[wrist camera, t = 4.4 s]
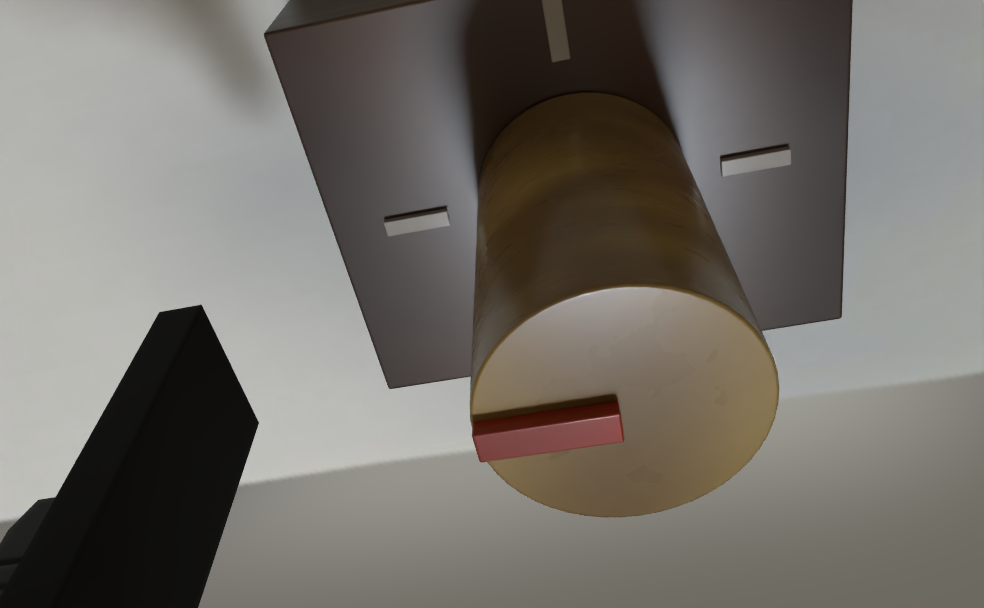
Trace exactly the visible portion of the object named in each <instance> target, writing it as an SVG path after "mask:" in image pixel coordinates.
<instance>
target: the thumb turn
mask: <svg viewBox="0 0 984 608" xmlns="http://www.w3.org/2000/svg"><path fill="white" fill-rule="evenodd" d="M778 399H779V381H778V372H777V369H776V365H775V362H774V358H773V356H772V353H771V351H770V349H769V347H768V344H767V342H766V340H765V338H764V335H763V333H762V331H761V329H760V326H759V324H758V322H757V319H756V317H755V315H754V313H753V310H752V308H751V306H750V304H749V301H748V299H747V297H746V295H745V292H744V290H743V288H742V286H741V283H740V281H739V279H738V276H737V274H736V272H735V270H734V267H733V265H732V263H731V261H730V258H729V256H728V254H727V252H726V249H725V247H724V245H723V243H722V240H721V238H720V236H719V233H718V231H717V229H716V227H715V224H714V222H713V220H712V218H711V215H710V213H709V211H708V209H707V206H706V204H705V202H704V200H703V197H702V195H701V193H700V190H699V188H698V186H697V184H696V181H695V179H694V177H693V175H692V172H691V170H690V168H689V166H688V163H687V161H686V159H685V157H684V154H683V152H682V150H681V148H680V146H679V144H678V142H677V140H676V138H675V137H674V135H673V134H672V132H671V131H670V129H669V128H668V127H667V126H666V125H665V124H664V123H663V122H662V121H661V119H660V118H658V117H657V116H656V115H654V114H653V113H652V112H651V111H649V110H648V109H646V108H644V107H643V106H641V105H639V104H637V103H635V102H633V101H630V100H628V99H625V98H622V97H618V96H614V95H611V94H603V93H575V94H567V95H563V96H559V97H555V98H552V99H549V100H547V101H544V102H542V103H539V104H537V105H536V106H534V107H532V108H530V109H528V110H526V111H525V112H524V113H522V114H521V115H519V116H518V117H517V118H515V119H514V120H513V121H512V122H511V123H510V124H509V125H508V126H507V127H506V128H505V129H504V130H503V131H502V132H501V133H500V135H499V136H498V137H497V138H496V140H495V141H494V143H493V145H492V146H491V148H490V149H489V151H488V154H487V156H486V158H485V160H484V163H483V166H482V170H481V173H480V179H479V187H478V211H477V236H476V261H475V286H474V311H473V336H472V361H471V387H470V420H471V425H472V437H473V441H474V444H475V448H476V451H477V454H478V457H479V461H480V462H488V463H489V465H490V466H491V467H492V468H493V470H494V471H495V472H496V473H497V474H498V475H499V476H500V477H501V478H502V479H503V480H505V482H506V483H508V484H509V485H510V486H512V487H513V488H514V489H516V490H517V491H519V492H520V493H522V494H523V495H525V496H527V497H529V498H531V499H533V500H534V501H537V502H539V503H542V504H544V505H546V506H549V507H551V508H555V509H559V510H561V511H565V512H569V513H574V514H579V515H585V516H596V517H628V516H639V515H644V514H651V513H656V512H660V511H664V510H667V509H671V508H674V507H678V506H680V505H683V504H685V503H688V502H691V501H693V500H695V499H697V498H699V497H701V496H703V495H706V494H708V493H709V492H711V491H713V490H714V489H716V488H717V487H719V486H721V485H722V484H724V483H725V482H726V481H728V480H729V479H730V478H732V477H733V476H734V475H735V474H737V473H738V472H739V471H740V470H741V469H742V468H743V467H744V466H745V465H746V464H747V463H748V462H749V461H750V460H751V459H752V457H753V456H754V455H755V454H756V452H757V451H758V450H759V449H760V447H761V445H762V444H763V442H764V441H765V439H766V437H767V436H768V433H769V431H770V428H771V426H772V424H773V421H774V419H775V414H776V410H777V406H778Z"/></svg>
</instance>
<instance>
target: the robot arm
mask: <svg viewBox="0 0 984 608" xmlns="http://www.w3.org/2000/svg"><path fill="white" fill-rule="evenodd" d="M258 424H259V422H258V420H257V418H256V416H255V414H254V412H253V410H252V408H251V406H250V404H249V402H248V399H247V397H246V395H245V393H244V391H243V389H242V387H241V385H240V383H239V381H238V379H237V377H236V375H235V373H234V371H233V369H232V367H231V364H230V362H229V360H228V358H227V356H226V354H225V352H224V350H223V348H222V346H221V344H220V342H219V340H218V338H217V336H216V334H215V332H214V329H213V327H212V325H211V323H210V321H209V319H208V317H207V315H206V313H205V311H204V309H203V307H202V305H198V306H192V307H186V308H181V309H175V310H169V311H164V312H159V314H158V316H157V317H156V319H155V321H154V323H153V325H152V326H151V328H150V330H149V332H148V333H147V335H146V337H145V339H144V341H143V342H142V344H141V346H140V348H139V350H138V351H137V353H136V355H135V357H134V358H133V360H132V362H131V364H130V366H129V367H128V369H127V371H126V373H125V375H124V376H123V378H122V380H121V382H120V383H119V385H118V387H117V389H116V391H115V392H114V394H113V396H112V398H111V400H110V401H109V403H108V405H107V407H106V408H105V410H104V412H103V414H102V416H101V417H100V419H99V421H98V423H97V425H96V426H95V428H94V430H93V432H92V433H91V435H90V437H89V439H88V441H87V442H86V444H85V446H84V448H83V449H82V451H81V453H80V455H79V457H78V458H77V460H76V462H75V464H74V466H73V467H72V469H71V471H70V473H69V474H68V476H67V478H66V480H65V482H64V483H63V485H62V487H61V489H60V491H59V492H58V494H57V496H56V497H54V498H48V499H41V500H38V501H37V502H36V503H35V504H34V505H33V506H32V507H31V508H30V509H29V510H28V511H27V512H26V513H25V514H24V515H23V516H22V517H21V518H20V519H19V520H18V521H17V522H16V523H15V524H14V525H13V526H12V527H11V528H10V529H9V530H8V532H7V533H6V535H5V537H4V538H3V540H2V542H1V543H0V608H198V606H199V603H200V600H201V597H202V594H203V591H204V588H205V585H206V582H207V578H208V576H209V573H210V570H211V567H212V564H213V560H214V558H215V555H216V551H217V548H218V545H219V542H220V539H221V536H222V533H223V530H224V527H225V524H226V521H227V518H228V515H229V512H230V509H231V506H232V503H233V500H234V497H235V494H236V491H237V488H238V485H239V482H240V479H241V476H242V473H243V469H244V466H245V463H246V460H247V457H248V454H249V451H250V448H251V445H252V442H253V439H254V436H255V433H256V430H257V427H258Z"/></svg>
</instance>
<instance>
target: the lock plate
mask: <svg viewBox="0 0 984 608" xmlns="http://www.w3.org/2000/svg"><path fill="white" fill-rule="evenodd" d="M852 3H853V0H289V2H288V3H287V4H286V6H285V7H284V8H283V10H282V11H281V12H280V13H279V15H278V16H277V17H276V19H275V20H274V21H273V23H272V24H271V25H270V26H269V28H268V29H267V30H266V32H265V33H264V37H265V40H266V43H267V46H268V49H269V51H270V54H271V57H272V60H273V63H274V66H275V68H276V71H277V74H278V77H279V80H280V83H281V85H282V88H283V91H284V94H285V97H286V99H287V102H288V105H289V108H290V111H291V114H292V116H293V119H294V122H295V125H296V128H297V131H298V133H299V136H300V139H301V142H302V145H303V148H304V150H305V153H306V156H307V159H308V162H309V164H310V167H311V170H312V173H313V176H314V179H315V181H316V184H317V187H318V190H319V193H320V196H321V198H322V201H323V204H324V207H325V210H326V212H327V215H328V218H329V221H330V224H331V227H332V229H333V232H334V235H335V238H336V241H337V244H338V246H339V249H340V252H341V255H342V258H343V261H344V263H345V266H346V269H347V272H348V275H349V277H350V280H351V283H352V286H353V289H354V292H355V294H356V297H357V300H358V303H359V306H360V309H361V311H362V314H363V317H364V320H365V323H366V325H367V328H368V331H369V334H370V337H371V340H372V342H373V345H374V348H375V351H376V354H377V357H378V359H379V362H380V365H381V368H382V371H383V374H384V376H385V379H386V382H387V385H388V387H389V389H393V388H400V387H406V386H412V385H419V384H425V383H432V382H438V381H444V380H451V379H457V378H463V377H470V376H471V361H472V336H473V311H474V286H475V261H476V236H477V211H478V187H479V179H480V173H481V170H482V166H483V163H484V160H485V158H486V156H487V154H488V151H489V149H490V148H491V146H492V145H493V143H494V141H495V140H496V138H497V137H498V136H499V135H500V133H501V132H502V131H503V130H504V129H505V128H506V127H507V126H508V125H509V124H510V123H511V122H512V121H513V120H514V119H515V118H517V117H518V116H519V115H521V114H522V113H524V112H525V111H526V110H528V109H530V108H532V107H534V106H536V105H537V104H539V103H542V102H544V101H547V100H549V99H552V98H555V97H559V96H563V95H567V94H575V93H603V94H611V95H614V96H618V97H622V98H625V99H628V100H630V101H633V102H635V103H637V104H639V105H641V106H643V107H644V108H646V109H648V110H649V111H651V112H652V113H653V114H654V115H656V116H657V117H658V118H660V119H661V121H662V122H663V123H664V124H665V125H666V126H667V127H668V128H669V129H670V131H671V132H672V134H673V135H674V137H675V138H676V140H677V142H678V144H679V146H680V148H681V150H682V152H683V154H684V157H685V159H686V161H687V163H688V166H689V168H690V170H691V172H692V175H693V177H694V179H695V181H696V184H697V186H698V188H699V190H700V193H701V195H702V197H703V200H704V202H705V204H706V206H707V209H708V211H709V213H710V215H711V218H712V220H713V222H714V224H715V227H716V229H717V231H718V233H719V236H720V238H721V240H722V243H723V245H724V247H725V249H726V252H727V254H728V256H729V258H730V261H731V263H732V265H733V267H734V270H735V272H736V274H737V276H738V279H739V281H740V283H741V286H742V288H743V290H744V292H745V295H746V297H747V299H748V301H749V304H750V306H751V308H752V310H753V313H754V315H755V317H756V319H757V322H758V324H759V326H760V329H761V331H763V330H769V329H776V328H782V327H789V326H795V325H801V324H808V323H814V322H820V321H827V320H833V319H839V318H841V317H842V293H843V264H844V235H845V206H846V177H847V148H848V119H849V90H850V61H851V32H852Z"/></svg>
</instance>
